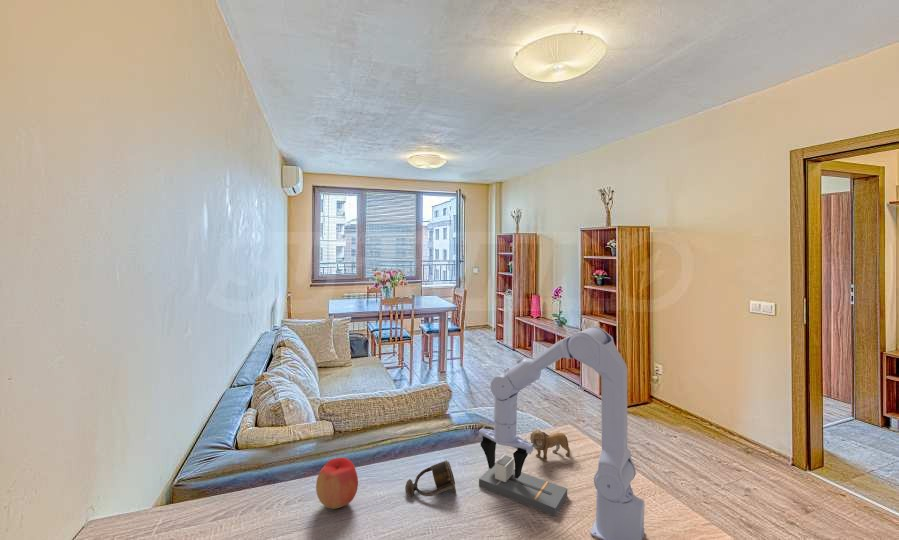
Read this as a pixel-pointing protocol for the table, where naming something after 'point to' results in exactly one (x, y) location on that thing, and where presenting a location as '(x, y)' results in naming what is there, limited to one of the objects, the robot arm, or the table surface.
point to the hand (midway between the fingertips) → (504, 471)
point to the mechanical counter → (441, 478)
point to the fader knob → (504, 468)
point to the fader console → (527, 491)
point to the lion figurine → (548, 442)
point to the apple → (337, 483)
